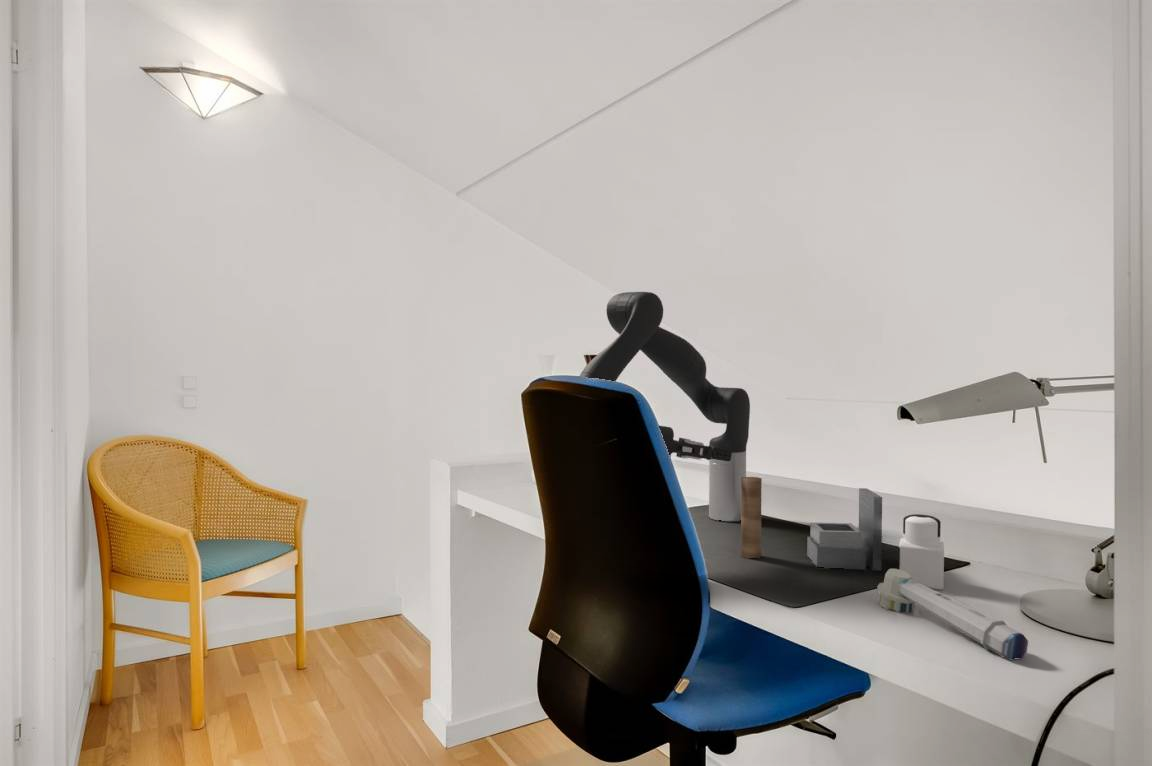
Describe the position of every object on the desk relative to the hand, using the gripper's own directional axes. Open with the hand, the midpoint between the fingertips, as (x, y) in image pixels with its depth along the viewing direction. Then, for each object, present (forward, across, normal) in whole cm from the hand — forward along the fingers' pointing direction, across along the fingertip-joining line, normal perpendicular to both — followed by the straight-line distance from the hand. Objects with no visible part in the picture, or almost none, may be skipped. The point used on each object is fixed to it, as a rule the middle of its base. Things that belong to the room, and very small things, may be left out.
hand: (724, 454), depth 148 cm
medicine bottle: (+34, -19, +17) cm, 42 cm away
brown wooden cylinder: (+9, +1, +20) cm, 22 cm away
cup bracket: (+25, -5, +17) cm, 31 cm away
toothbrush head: (+25, -41, +20) cm, 52 cm away
